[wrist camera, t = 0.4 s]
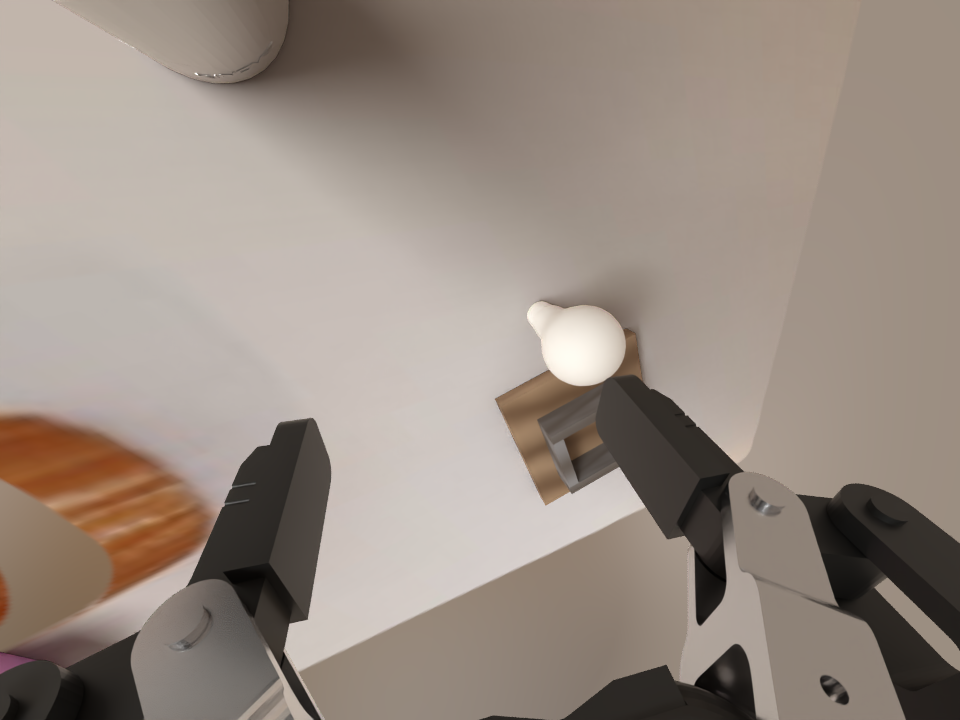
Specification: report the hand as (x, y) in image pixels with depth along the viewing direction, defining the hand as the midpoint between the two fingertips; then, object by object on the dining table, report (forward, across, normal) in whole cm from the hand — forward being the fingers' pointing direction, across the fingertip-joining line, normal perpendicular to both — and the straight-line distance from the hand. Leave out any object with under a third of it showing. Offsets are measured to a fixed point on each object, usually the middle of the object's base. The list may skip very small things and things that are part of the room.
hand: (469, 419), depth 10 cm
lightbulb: (+22, -10, +8) cm, 25 cm away
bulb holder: (+21, -16, +23) cm, 35 cm away
